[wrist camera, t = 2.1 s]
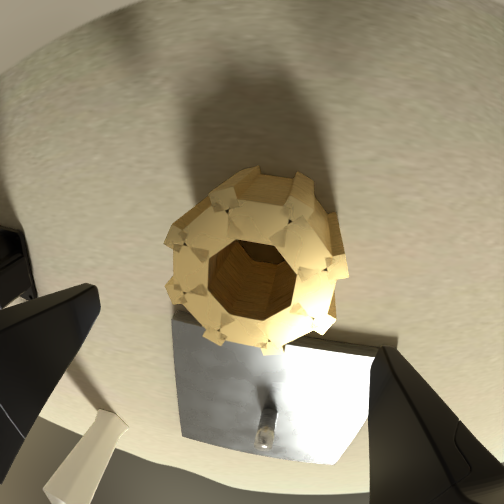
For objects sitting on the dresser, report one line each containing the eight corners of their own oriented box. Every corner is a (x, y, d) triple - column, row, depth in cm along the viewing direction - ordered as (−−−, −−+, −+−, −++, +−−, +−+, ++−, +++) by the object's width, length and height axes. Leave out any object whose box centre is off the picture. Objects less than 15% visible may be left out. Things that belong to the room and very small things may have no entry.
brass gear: (202, 279, 18) (167, 333, 13) (209, 159, 15) (164, 178, 10) (321, 302, 17) (320, 365, 12) (349, 180, 14) (365, 209, 9)
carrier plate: (185, 428, 25) (171, 461, 21) (177, 310, 19) (150, 350, 15) (334, 456, 23) (332, 492, 20) (397, 349, 17) (408, 397, 14)
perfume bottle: (104, 402, 26) (34, 510, 13) (136, 428, 27) (77, 537, 14) (89, 410, 28) (27, 505, 15) (118, 433, 29) (64, 529, 16)
